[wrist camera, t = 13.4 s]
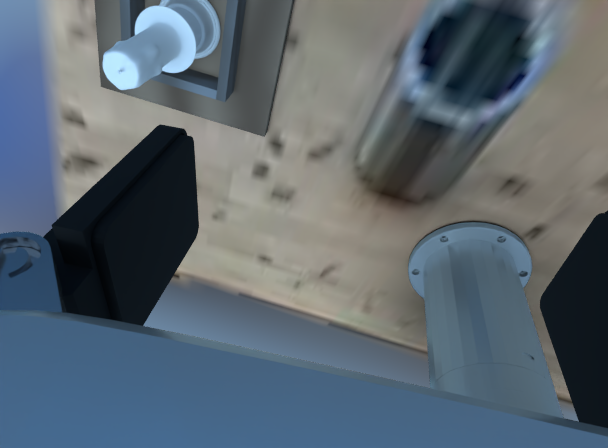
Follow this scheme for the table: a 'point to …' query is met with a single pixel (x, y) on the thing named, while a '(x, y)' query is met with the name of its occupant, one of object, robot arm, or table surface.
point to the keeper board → (212, 61)
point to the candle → (163, 42)
